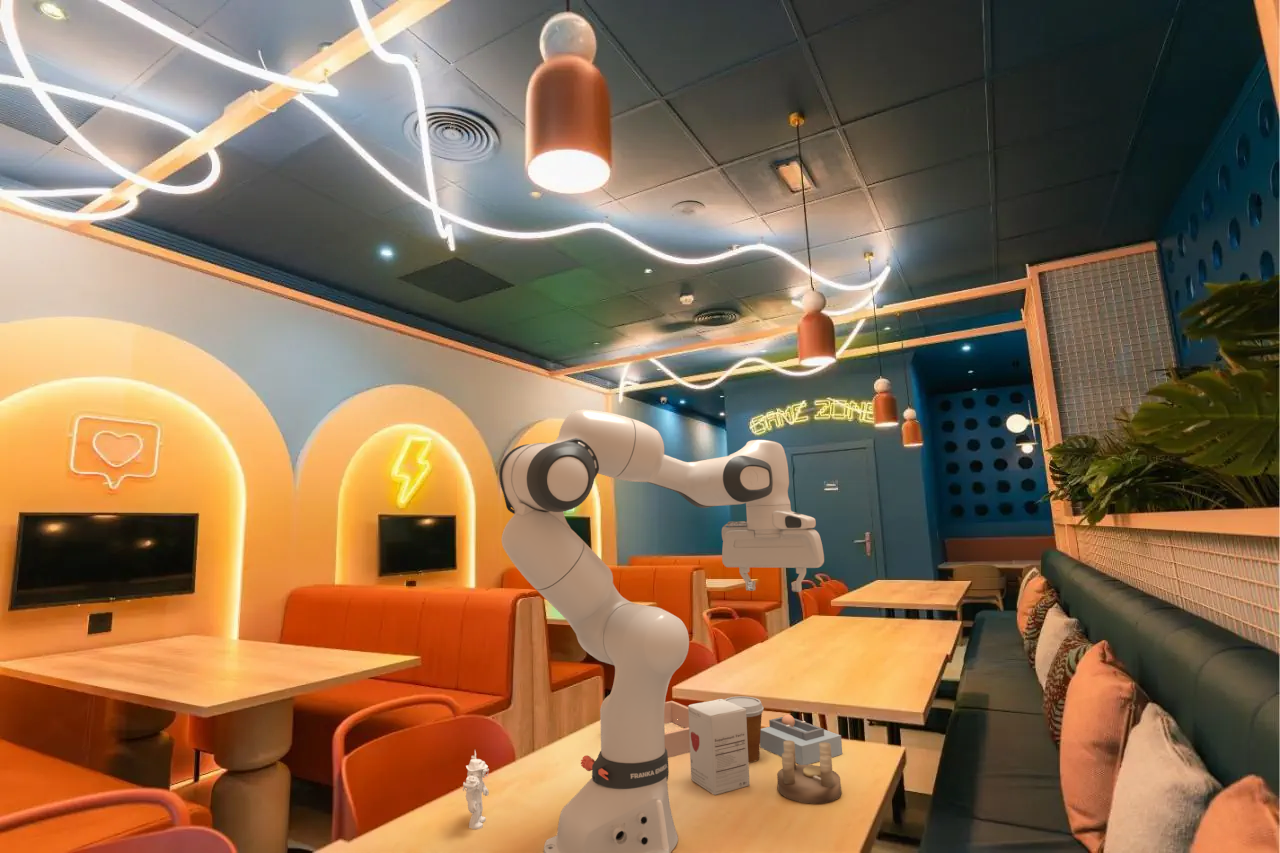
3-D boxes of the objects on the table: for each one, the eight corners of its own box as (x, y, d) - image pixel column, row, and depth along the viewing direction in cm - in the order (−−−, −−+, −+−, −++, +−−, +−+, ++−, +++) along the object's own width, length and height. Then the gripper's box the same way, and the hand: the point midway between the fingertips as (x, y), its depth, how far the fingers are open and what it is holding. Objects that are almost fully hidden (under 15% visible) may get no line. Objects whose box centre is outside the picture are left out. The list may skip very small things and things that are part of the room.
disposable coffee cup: (766, 766, 139) (762, 708, 140) (722, 764, 140) (719, 707, 142) (766, 750, 148) (763, 696, 150) (725, 749, 150) (722, 695, 151)
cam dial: (808, 809, 118) (806, 765, 119) (764, 786, 128) (762, 746, 129) (855, 793, 124) (852, 752, 125) (809, 772, 134) (807, 734, 135)
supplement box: (689, 780, 133) (686, 704, 135) (725, 771, 137) (721, 697, 139) (714, 796, 125) (710, 715, 127) (751, 786, 129) (747, 707, 131)
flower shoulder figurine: (472, 813, 121) (473, 745, 123) (493, 812, 121) (493, 745, 123) (458, 836, 112) (458, 763, 114) (480, 836, 112) (480, 762, 114)
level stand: (802, 766, 138) (801, 738, 139) (760, 747, 150) (758, 721, 151) (842, 754, 144) (840, 727, 145) (798, 737, 156) (796, 712, 157)
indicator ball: (788, 731, 149) (787, 717, 149) (779, 727, 151) (778, 714, 152) (797, 728, 150) (797, 715, 151) (789, 725, 153) (788, 712, 153)
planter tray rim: (647, 762, 143) (646, 738, 144) (603, 735, 162) (602, 714, 163) (723, 743, 154) (722, 721, 154) (673, 720, 172) (672, 700, 173)
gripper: (715, 522, 131) (718, 591, 129) (814, 519, 121) (820, 594, 119) (727, 521, 137) (730, 588, 135) (823, 518, 127) (828, 590, 125)
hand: (773, 590), depth 127 cm, fingers open, 8 cm apart
